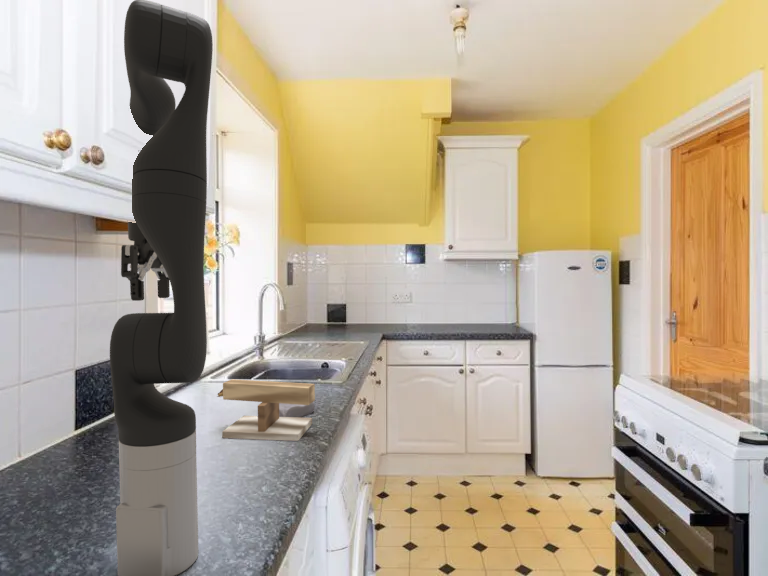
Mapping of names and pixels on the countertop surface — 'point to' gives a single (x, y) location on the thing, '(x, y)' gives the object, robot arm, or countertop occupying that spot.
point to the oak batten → (269, 391)
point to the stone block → (295, 410)
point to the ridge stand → (268, 425)
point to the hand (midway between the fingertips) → (151, 299)
